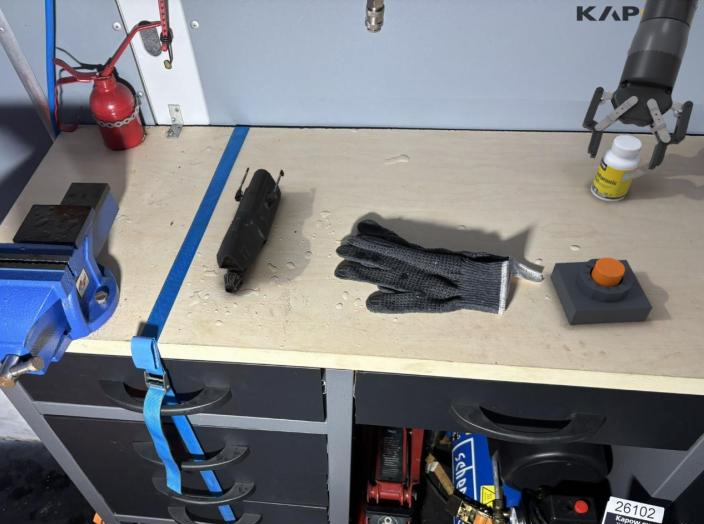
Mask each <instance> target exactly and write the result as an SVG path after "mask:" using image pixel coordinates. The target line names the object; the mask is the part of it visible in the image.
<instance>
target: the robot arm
mask: <svg viewBox="0 0 704 524" xmlns="http://www.w3.org/2000/svg"><path fill="white" fill-rule="evenodd" d="M699 1H700V0H645V3H644V6H643V10H642V13H641V17H640V20H639V23H638V26H637V29H636V31H635V34H634V36H633V38H632V40H631V42H630V46H629V48H628V50H627V57H626V59H625V63H624V66H623V69H622V73H621V75H620V79H619V83H618V86H617V88H616V90H615V91H610V90H605V89H604V87H603V86H598V87H596V88H595V90H594V92H593V94H592V97H591V100H590V103H589V106H588V108H587V111H586V114H585V117H584V119H583V121H582V124H581V125H582V128H583V129H586V130H589V131H590V132H591V137H590V140H589V143H588V146H587V154H589V155H590V156H589V158H591V159H596V157H597V155H598V152H599V149H600V145H601V142H602V139H603V135H604V131H605V130H606V129H608V128H609V127H611V126H613V124H615V123H616V122H617V121H619V122H620V123H621V124H623V125H635V126H636V127H640V128H644V127H648V128H649V130H650V132H651V133H652V135H653V136H654V138H655V140H656V142H657V143H656V144H655V145H654V148H653V151H652V155H651V157H650V160H649V163H648V166H647V169H648V170H653V171H654V170H655V169H656V167H659V166H661V164H662V163H663V161H664V158H665V155H666V152H667V149H668V146H671V145H679V144H680V143H682V142H683V141H684V140H685V139H686V137H687V136H686V135H687V132H688V128H689V123H690V119H691V115H692V113H693V106H694V102H693V101H691V100H686V101H685V102H683V101H682V102H681V101H674V100H673V98H672V97H673V92H674V88H675V85H676V82H677V78H678V76H679V73H680V69H681V65H682V63H683V59H684V56H685V53H686V50H687V46H688V43H689V42H688V41H689V36H690V31H691V29H692V24H693V22H694V18H695V15H696V12H697V9H698V5H699ZM609 100H610V103H611V106H612V108H613V111H611V112H610V113H608V115H606V116H605V117H604V118H603V119H601V120H600V121H596V120H594V118H595V116H596V113H597V112H598V111H597V110H598V107H599V106H603V105H604V104H605V103H606V102H607V101H609ZM670 110H671V111H672V112H673V114H672V115H673V117H674V118H676V121H675V126H674V131H673V134H670V132H669V130H668V129H667V124H666V122H665V119H664V117H663V116H664V115H665V114H666V113H667V112H669V111H670Z"/></svg>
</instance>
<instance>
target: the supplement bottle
mask: <svg viewBox="0 0 704 524" xmlns="http://www.w3.org/2000/svg"><path fill="white" fill-rule="evenodd" d="M642 146H643V143H642V141H641V140H640V139H639V138H637V137H636V136H633V135H629V134H621V135H617V136H616V137H615V138H614V140H613V142H612V144H611V147H609V148H607V149H606V150H605V151H604V153H603V155H602V157H601V160H600V163H599V165H598V168H597V170H596V173H595V175H594V178H593V181H592V183H591V187H590V190H591V193H592V194H593V196H595V197H596V198H598V199H600V200H603V201H607V202H619V201H621V200H623V199H624V198H625V197H626V195H627V193H628V191H629V189H630V186H631V184H632V182H633V179H634V177H635V175H636V174H637V173H636V172H637V170H638V167H639V166H640V164H641V156H640V151H641V149H642Z"/></svg>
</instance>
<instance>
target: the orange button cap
mask: <svg viewBox="0 0 704 524" xmlns="http://www.w3.org/2000/svg"><path fill="white" fill-rule="evenodd" d="M600 258H601V257H600ZM600 258H598V259H599V260H598V261H597V262H596V264H595V267H594V269H593V271H592V274H591V275H592V278H593V280H594V281H596V282H597V283H598V284H600V285H603V286H606V287H614V286H616V285H618V284H619V282H620V280H621V278H622V276H623V274H624V272H625V267H624V265H623V264H622V263H621V262H620V261H618V260H619V259H616V258H613V257H602V258H601V259H600Z"/></svg>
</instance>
